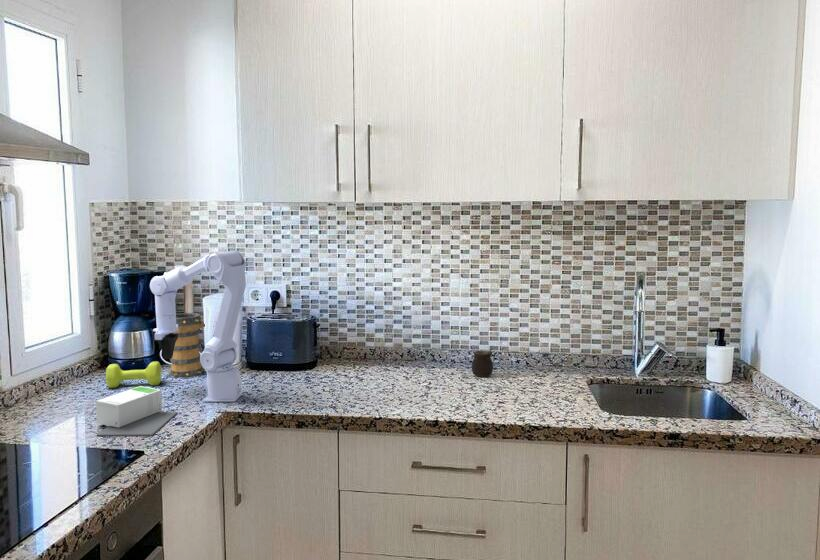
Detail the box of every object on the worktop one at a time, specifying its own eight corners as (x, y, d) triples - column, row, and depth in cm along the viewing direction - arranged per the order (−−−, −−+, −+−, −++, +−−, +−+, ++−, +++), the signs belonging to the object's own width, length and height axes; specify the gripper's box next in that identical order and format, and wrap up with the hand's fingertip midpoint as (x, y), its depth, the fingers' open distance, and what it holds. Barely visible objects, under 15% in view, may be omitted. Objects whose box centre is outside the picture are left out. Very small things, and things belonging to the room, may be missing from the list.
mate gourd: (474, 372, 232) (474, 343, 231) (496, 373, 230) (496, 344, 229) (468, 377, 226) (468, 347, 224) (491, 379, 223) (491, 349, 222)
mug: (166, 370, 239) (163, 313, 236) (218, 366, 244) (215, 310, 242) (167, 380, 227) (163, 320, 224) (221, 374, 232) (218, 316, 230)
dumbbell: (163, 380, 226) (162, 359, 226) (159, 387, 219) (158, 365, 218) (110, 384, 223) (108, 362, 222) (104, 390, 215) (103, 368, 215)
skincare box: (162, 389, 192) (119, 404, 177) (162, 412, 192) (119, 429, 178) (139, 385, 195) (94, 399, 180) (139, 408, 196) (95, 424, 181)
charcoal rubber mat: (177, 413, 192) (177, 411, 192) (152, 435, 174) (151, 434, 174) (127, 413, 192) (127, 412, 192) (96, 436, 174) (96, 434, 174)
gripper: (161, 310, 218) (164, 352, 220) (143, 319, 204) (146, 364, 205) (184, 310, 218) (186, 352, 220) (167, 318, 203) (169, 363, 205)
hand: (168, 358), depth 212 cm, fingers closed
